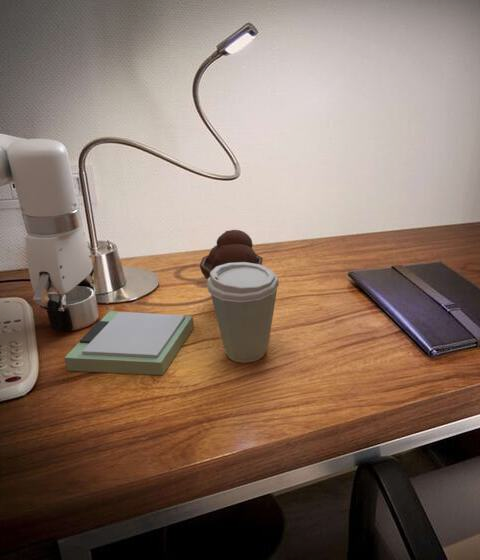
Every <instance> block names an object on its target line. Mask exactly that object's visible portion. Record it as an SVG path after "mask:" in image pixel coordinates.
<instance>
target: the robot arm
mask: <svg viewBox="0 0 480 560" xmlns="http://www.w3.org/2000/svg"><path fill="white" fill-rule="evenodd" d="M74 181H75V180H74V177H73V171H72V167H71V161H70V157H69V153H68V149H67V148H66V145H64V144H63V143H62V142H60V141H58V140H54V139H50V138H23V137H18V136H14V135H10V134H5V133H0V187H2V186H5V185H8V184H12V183H14V188H15V192H16V196H17V201H18V203H19V207H20V211H21V215H22V220H23V224H24V227H25V230H26V234H27V235H25V255H26V256H25V257H26V263H27V268H28V273H29V279H30V283H31V287H32V290H33V291H32V292H34V294H33V297H32V301H33V303H35V304H36V305H38V306H39V307H40V308H41V309H43V311H46V313H47V317H48V322H49V324H50V328H51V330H52V331H67V332H71V331H73V330H72V329H73V325H72V321H71V316H70V312H69V308H65V306H66V294H67V293H68V292H69V291H70V290H72V289H73V288H74V287H75V286H85V287H89V288H92V289H93V290H94V291H95V289H94V285H95V280H94V278H93V276H94V273H95V270H94V264H95V259H96V258H95V256H94V255H92V254H91V250H90V246H89V243H88V240H87V239H88V238H87V236H86V232H85V230H84V226H83V221H82V216H81V210H80V206H79V201H78V195H77V191H76V186H75V182H74ZM53 288H54V289H55V290H53ZM56 290H58V291H56ZM52 295H59V298H58V303H57V302H55V301H53V300H52Z"/></svg>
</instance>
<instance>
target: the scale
mask: <svg viewBox="0 0 480 560" xmlns="http://www.w3.org/2000/svg"><path fill="white" fill-rule="evenodd" d="M193 329H195V325H194V316H193V315H189V314H188V315H187V314H169V313H149V312H135V311H134V312H131V311H113V310H109V311H108V312H107V313H106V314H105V315H104V316H103V317H102V318H101V319H100V320H98V321H97V322H95V324H94V325H93V326H92V327H91V328H90V329H89V330H88V331H87V332H86V333H85V334H84V336H82V337H81V339H79V341H78V343H77V344H76V345H75V346H74V347H73V348H72V349H71V350H70V351H69V352H68V353H67V354H66V356H64V362H65V366H66V371H69V372H85V373H86V372H87V373H88V372H89V373H104V374H105V373H107V374H128V375H129V374H131V375H148V376H164V374H165V373H166V371H167V370H168V368H169V367H170V365H171V364H172V362H173V361H174V359H175V358H176V356H177V354H178V353H179V351H180V350H181V348H182V347H183V345H184V344H185V342H186V341H187V339H188V337H189V336H190V334H191V333H192V331H193Z"/></svg>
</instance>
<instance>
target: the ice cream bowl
mask: <svg viewBox="0 0 480 560" xmlns="http://www.w3.org/2000/svg"><path fill="white" fill-rule="evenodd" d="M253 245H254V243H253V240H252V238H251V236H250V235H249V234H248V233H246V232H245V231H242V230H240V229H231V230H225V231H224V232H223V233H221V235H220V236H218V238H217V239H216V245H214V246H213V247H212V248H211V249H210V251H209V254H208V255H205V256H203V257H202V258H201V261H200V263H199V268H200V271H201V273H202V275H203V277H204V278H205V279H206V281H207V280H208V278H209V277H210V272H211V271H212V270H213V269H214V268H215V267H216V266H220V265H223V264H227V263H237V262H247V263H254V264H260V265H262V266H263V260H264V258H263V257H262V256H261V255H259V254H258V253H256V252H255V251H254V249H253Z"/></svg>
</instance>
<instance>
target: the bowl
mask: <svg viewBox="0 0 480 560" xmlns="http://www.w3.org/2000/svg"><path fill="white" fill-rule="evenodd" d="M55 291H58V289H55ZM58 298H59V295H52V300H53V301H55V302H57V303H58ZM65 308H69V312H70V316H71V321H72V325H73V329H72V330H71V331H78V330H82V329H85V328H88V327H89V326H92V325H93V324H94V323H96V321H97V320H98V318H99V316H100V311H99V307H98V302H97V297H96V292H95V289H94V290H93V289H92V288H89V287H85V286H75V287H74V288H73V289H72V290H70V291H69V292H68V293H67V294H66V306H65Z"/></svg>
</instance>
